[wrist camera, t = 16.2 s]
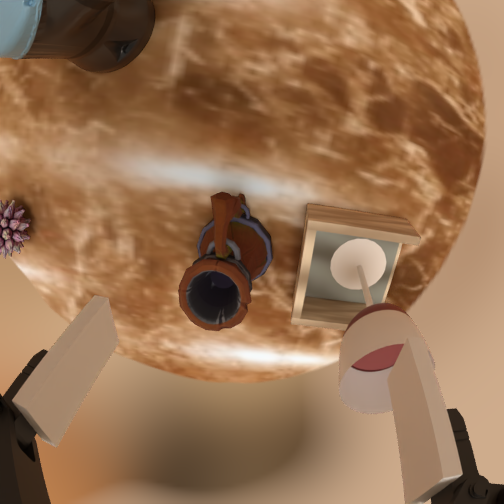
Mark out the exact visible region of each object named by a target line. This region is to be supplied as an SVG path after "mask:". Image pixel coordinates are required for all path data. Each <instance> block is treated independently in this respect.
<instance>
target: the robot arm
mask: <svg viewBox="0 0 504 504" xmlns="http://www.w3.org/2000/svg"><path fill="white" fill-rule="evenodd" d="M154 21H155V11H154V6H153V3H152V1H151V0H0V57H5V58H12V59H30V58H59V59H68V60H69V61H71V62H73V63H74V64H76V65H77V66H79V67H80V68H82V69H84V70H87V71H91V72H110V71H114V70H117V69H119V68H121V67H123V66H125V65H127V64H128V63H129V62H131V61H132V60H133V59H134V58H135V57H136V56H137V55H138V54H139V53H140V52H141V51H142V49H143V48H144V47H145V45H146V44H147V42H148V40H149V38H150V36H151V33H152V30H153V27H154ZM118 344H119V339H118V335H117V331H116V328H115V324H114V320H113V316H112V312H111V308H110V304H109V299H108V298H106V297H101V296H97V295H94V296H93V298H92V299H91V300H90V301H89V302H88V303H87V305H86V306H85V307H84V308H83V309H82V310H81V312H80V313H79V314H78V315H77V316H76V318H75V319H74V320H73V321H72V322H71V324H70V325H69V326H68V327H67V329H66V330H65V331H64V332H63V334H62V335H61V336H60V337H59V339H58V340H57V341H56V342H55V343H54V345H53V346H52V347H51V349H50V350H49V351H46V350H44V349H43V350H41V351H40V352H39V353H37V354H36V355H34V356H33V357H32V359H31V360H30V361H29V363H28V364H27V366H25V368H24V369H23V370H22V373H20V374H19V376H18V377H17V378H16V379H15V381H14V382H13V383H12V385H11V386H10V388H9V389H8V391H7V392H6V393H5V394H4V396H3V397H2V396H1V394H0V504H51V502H50V499H49V496H48V492H47V488H46V484H45V480H44V477H43V472H42V468H41V463H40V458H39V453H38V448H37V443H36V440H35V438H34V437H35V435H36V433H37V434H38V435H39V436H40V437H41V439H42V440H43V441H45V442H47V443H49V444H51V445H53V446H55V447H57V446H58V445H59V443H60V441H61V439H62V437H63V435H64V434H65V432H66V430H67V428H68V427H69V425H70V423H71V421H72V420H73V418H74V416H75V414H76V413H77V411H78V409H79V408H80V406H81V404H82V402H83V401H84V399H85V397H86V396H87V393H88V392H89V391H90V389H91V387H92V385H93V384H94V382H95V381H96V379H97V377H98V376H99V374H100V372H101V371H102V369H103V367H104V366H105V364H106V363H107V361H108V359H109V358H110V356H111V355H112V353H113V351H114V350H115V348H116V347H117V345H118ZM387 382H388V387H389V392H390V397H391V403H392V408H393V414H394V419H395V426H396V432H397V439H398V446H399V453H400V460H401V468H402V478H403V486H404V498H405V504H423V503H425V502H426V501H428V500H429V499H430V498H431V504H504V485H502V484H501V485H500V484H491V483H489V482H488V480H487V479H486V478H485V477H484V476H481V475H479V473H478V470H477V466H476V462H475V458H474V454H473V450H472V447H471V443H470V440H469V436H468V432H467V431H466V425H465V422H464V419H463V417H462V416H461V414H460V413H459V412H458V410H457V409H446V406H445V402H444V399H443V396H442V393H441V389H440V386H439V383H438V380H437V377H436V374H435V371H434V368H433V365H432V362H431V360H430V357H429V354H428V351H427V348H426V346H425V343H424V340H423V338H416V337H407V339H406V341H405V343H404V346H403V348H402V350H401V352H400V354H399V356H398V358H397V360H396V362H395V364H394V366H393V368H392V370H391V372H390V374H389V376H388V378H387Z"/></svg>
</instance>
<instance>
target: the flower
mask: <svg viewBox="0 0 504 504" xmlns="http://www.w3.org/2000/svg"><path fill="white" fill-rule="evenodd" d="M22 208H23V207H22V206H21V205H20V206H19V207H18V208H15V201H14V200H13V201H12V203H11V204H10V205H9V204H8V201H7V200H6V202H5V204H4V205H3V204H2V202H1V200H0V254H1V253H3V257H4V258H6V255H7V253H8V254H9V257H12V252H13V250H14V251H16V252H18V254H20V252H21V250H20V247H21V248H23V247H24V246H23V244H22V242H24V240H25V239H29V238H30V236H29V235H27V231H25V230H24V229H25V228H26V227H29V222H31V221H30V220H31V219H25V218H24V217H23V216H22V215H23V213H24V212H25V210H24V209H23V210H21V209H22Z"/></svg>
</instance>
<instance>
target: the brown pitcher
mask: <svg viewBox="0 0 504 504" xmlns="http://www.w3.org/2000/svg"><path fill="white" fill-rule="evenodd" d="M211 202H212V209H213V217H214V220H212V221H211V222H210V223H209V224H208V225H207V226H205V227H204V228H203V230H202V233H201V235H200V238H199V241H198V244H197V249H198V253H199V259H197V260H196V261H194V262H193V265H192V266H191V267H189V268H188V269H186V271H185V274H184V276H183V278H182V280H181V282H180V285H179V290H178V292H179V302H180V307H181V308H182V310H183V311H184V312H185V314H186V315H187V316H188V318H189V319H190V320H191V321H192V322H193V323H194V324H196V325H197V326H199V327H201V328H203V329H205V330H213V331H219V330H221V329H223V328H232V327H234V326H236V325H238V324H239V323H241V322H242V320H243V318H244V317H245V315H246V314H247V312H248V309H247V305H246V304H248V303H250V302H251V296H250V292H251V290H252V283H251V281H253V280H255V279H256V278H258V277H260V276H261V275H263V274H264V273H265V272H266V270H267V268H268V266H269V264H270V263H271V261H272V259H273V255H272V246H271V237H270V235H269V234H268V232H267V231H266V230H265V229H264V227H263V226H262V225H261V223H260V222H259V221H258V220H257V219H254V218H252V217H250V212H249V209H248V208H247V207H246V206H245V197H244V195H243V194H240V195H239V196H238V197H235V196H231V195H230V194H229V193H225V192H220V193H217V194H215V195H213V196H211ZM244 212H245V213H246V215H245V214H243V213H244Z"/></svg>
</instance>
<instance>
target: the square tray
mask: <svg viewBox="0 0 504 504" xmlns="http://www.w3.org/2000/svg"><path fill="white" fill-rule="evenodd" d="M354 239H368V240H371V241H373V242H375V243H376V244H378V245H379V246H380V247H381V248H382V250H383V252H384V253H385V257H386V267H385V271H384V273H383V275H382V277H381V278H380V279H379V280H378V281H377V282H376V283H375V284H373V285H371V286H370V287H368V288H369V291H370V294H371V298H372V301H373V304H378V303H384V302H385V299H386V296H387V293H388V290H389V286H390V283H391V280H392V277H393V274H394V271H395V267H396V264H397V260H398V257H399V254H400V250H401V246H402V243H403V244H410V245H416V246H419V243H420V240H421V237H420V235H419V234H418V233H417V232H416V230H415V229H414V228H413V226H412V225H411V224H410V223H409V221H408V220H407V219H403V218H398V217H392V216H386V215H380V214H374V213H368V212H362V211H356V210H349V209H343V208H336V207H329V206H323V205H316V204H308V205H307V212H306V219H305V226H304V232H303V239H302V245H301V252H300V258H299V264H298V271H297V277H296V283H295V289H294V295H293V303H292V315H291V324H294V325H302V326H310V327H318V328H327V329H335V330H345V331H346V329H347V327H348V325H349V323H350V322H351V320H352V319H353V318H354V317H355V316H356V315H357V314H358V313H359V312H360V311H362V310H363V309H364V308H366V307H367V306H366V302H365V298H364V294H363V290H362V289H360V290H354V289H348V288H345V287H343V286H341V285H340V284H339V283H337V282H336V280H335V279H334V277H333V276H332V272H331V269H330V267H331V259H332V257H333V255H334V253H335V251H336V250H337V249H338V248H339V247H340V246H341V245H343V244H344V243H346V242H347V241H350V240H354Z"/></svg>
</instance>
